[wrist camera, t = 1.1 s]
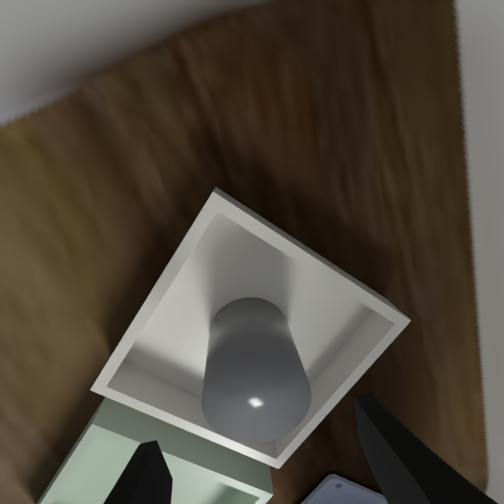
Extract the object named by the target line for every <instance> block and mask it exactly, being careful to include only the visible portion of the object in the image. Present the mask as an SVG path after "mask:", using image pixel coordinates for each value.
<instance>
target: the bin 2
mask: <svg viewBox="0 0 504 504" xmlns="http://www.w3.org/2000/svg"><path fill="white" fill-rule="evenodd" d="M154 440H157V442H158V444H159V447H160V449H161V452H162V454H163V456H164V459H165V461H166V464H167V466H168V468H169V471H170V473H171V476H172V478H173V485H172V497H171V504H265V503H266V502H267V501H268V500H269V499H270V498H271V497H272V496H273V488H272V481H271V473H270V466H269V465H268V464H265V463H263V462H261V461H258V460H256V459H253V458H251V457H249V456H246V455H244V454H242V453H239V452H237V451H234V450H232V449H230V448H227V447H225V446H222V445H220V444H218V443H215V442H213V441H210V440H208V439H206V438H203V437H201V436H198V435H196V434H194V433H191V432H189V431H186V430H184V429H182V428H179V427H177V426H175V425H172V424H170V423H167V422H165V421H163V420H160V419H158V418H155V417H153V416H151V415H148V414H146V413H143V412H141V411H139V410H136V409H134V408H131V407H129V406H127V405H124V404H122V403H119V402H117V401H115V400H112V399H110V398H108V397H104V399H103V401H102V402H101V404H100V405H99V407H98V408H97V410H96V411H95V413H94V415H93V416H92V418H91V419H90V421H89V422H88V424H87V426H86V427H85V429H84V430H83V432H82V433H81V435H80V437H79V438H78V440H77V441H76V443H75V444H74V446H73V447H72V449H71V451H70V452H69V454H68V455H67V457H66V458H65V460H64V462H63V463H62V465H61V466H60V468H59V469H58V471H57V473H56V474H55V476H54V477H53V479H52V480H51V482H50V483H49V485H48V487H47V488H46V490H45V491H44V493H43V494H42V496H41V498H40V499H39V501H38V502H37V504H103V503H104V501H105V500H106V498H107V497H108V495H109V493H110V492H111V490H112V489H113V487H114V485H115V484H116V482H117V480H118V479H119V477H120V475H121V474H122V472H123V470H124V469H125V467H126V465H127V464H128V462H129V460H130V459H131V457H132V455H133V454H134V452H135V450H136V449H137V447H138V446H139V444H141V443H145V442H150V441H154Z"/></svg>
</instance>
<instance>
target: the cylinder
mask: <svg viewBox="0 0 504 504" xmlns="http://www.w3.org/2000/svg"><path fill="white" fill-rule="evenodd" d="M311 396H312V395H311V388H310V384H309V381H308V378H307V375H306V373H305V370H304V367H303V364H302V362H301V359H300V356H299V353H298V351H297V348H296V345H295V342H294V340H293V337H292V334H291V331H290V329H289V326H288V323H287V320H286V318H285V316H284V314H283V313H282V311H281V310H280V309H279V308H278V307H277V306H276V305H274V304H273V303H271V302H269V301H267V300H264V299H260V298H254V297H247V298H241V299H237V300H234V301H232V302H230V303H228V304H226V305H225V306H224V307H222V308H221V309H220V310H219V311H218V312H217V314H216V315H215V316H214V318H213V320H212V322H211V326H210V332H209V340H208V349H207V357H206V366H205V375H204V383H203V392H202V401H201V404H202V411H203V414H204V417H205V419H206V421H207V422H208V424H209V425H210V426H211V427H212V428H213V429H214V430H215V431H216V432H217V433H219V434H220V435H222V436H224V437H226V438H228V439H231V440H233V441H237V442H243V443H261V442H267V441H271V440H274V439H277V438H279V437H282V436H284V435H286V434H287V433H289V432H290V431H292V430H293V429H294V428H295V427H297V426H298V425H299V424H300V423H301V421H302V420H303V419H304V417H305V416H306V414H307V412H308V410H309V407H310V404H311Z"/></svg>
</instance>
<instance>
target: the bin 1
mask: <svg viewBox="0 0 504 504" xmlns="http://www.w3.org/2000/svg"><path fill="white" fill-rule="evenodd" d="M247 297H254V298H260V299H264V300H267V301H269V302H271V303H273V304H274V305H276V306H277V307H278V308H279V309H280V310H281V311H282V313H283V314H284V316H285V318H286V320H287V323H288V326H289V329H290V331H291V334H292V337H293V340H294V342H295V345H296V348H297V351H298V353H299V356H300V359H301V362H302V364H303V367H304V370H305V373H306V375H307V378H308V381H309V384H310V388H311V395H312V396H311V404H310V407H309V410H308V412H307V414H306V416H305V417H304V419H303V420H302V421H301V423H300V424H299V425H298V426H297V427H295V428H294V429H293V430H292V431H290V432H289V433H287V434H286V435H284V436H282V437H279V438H277V439H274V440H271V441H267V442H261V443H243V442H237V441H233V440H231V439H228V438H226V437H224V436H222V435H220V434H219V433H217V432H216V431H215V430H214V429H213V428H212V427H211V426H210V425H209V424H208V422H207V421H206V419H205V417H204V414H203V411H202V404H201V401H202V392H203V383H204V375H205V366H206V357H207V349H208V340H209V332H210V326H211V322H212V320H213V318H214V316H215V315H216V314H217V312H218V311H219V310H220V309H221V308H222V307H224V306H225V305H226V304H228V303H230V302H232V301H234V300H237V299H241V298H247ZM410 321H411V320H410V319H409V318H408V317H406V316H405V315H404V314H403V313H402V312H401V311H400V310H398V309H397V308H396V307H395V306H394V305H393V304H392V303H390V302H389V301H388V300H387V299H386V298H385V297H383V296H381V295H380V294H378V293H377V292H375V291H374V290H372V289H371V288H369V287H368V286H366V285H365V284H363V283H362V282H360V281H359V280H357V279H356V278H354V277H353V276H351V275H350V274H348V273H346V272H345V271H343V270H342V269H340V268H339V267H337V266H336V265H334V264H333V263H331V262H330V261H328V260H327V259H325V258H324V257H322V256H321V255H319V254H318V253H316V252H315V251H313V250H312V249H310V248H308V247H307V246H305V245H304V244H302V243H301V242H299V241H298V240H296V239H295V238H293V237H292V236H290V235H289V234H287V233H286V232H284V231H283V230H281V229H280V228H278V227H277V226H275V225H274V224H272V223H270V222H269V221H267V220H266V219H264V218H263V217H261V216H260V215H258V214H257V213H255V212H254V211H252V210H251V209H249V208H248V207H246V206H245V205H243V204H242V203H240V202H239V201H237V200H236V199H234V198H232V197H231V196H229V195H228V194H226V193H225V192H223V191H222V190H220V189H219V188H217V187H215V189H214V190H213V192H212V193H211V195H210V197H209V198H208V200H207V202H206V203H205V205H204V206H203V208H202V210H201V211H200V213H199V214H198V216H197V218H196V219H195V221H194V223H193V224H192V226H191V227H190V229H189V231H188V232H187V234H186V236H185V237H184V239H183V240H182V242H181V244H180V245H179V247H178V248H177V250H176V252H175V253H174V255H173V257H172V258H171V260H170V261H169V263H168V265H167V266H166V268H165V269H164V271H163V273H162V274H161V276H160V278H159V279H158V281H157V282H156V284H155V286H154V287H153V289H152V290H151V292H150V294H149V295H148V297H147V299H146V300H145V302H144V303H143V305H142V307H141V308H140V310H139V311H138V313H137V315H136V316H135V318H134V320H133V321H132V323H131V324H130V326H129V328H128V329H127V331H126V332H125V334H124V336H123V337H122V339H121V341H120V342H119V344H118V345H117V347H116V349H115V350H114V352H113V354H112V355H111V357H110V358H109V360H108V362H107V363H106V365H105V367H104V368H103V370H102V371H101V373H100V375H99V376H98V378H97V380H96V381H95V383H94V385H93V386H92V388H91V389H90V390H91V391H93V392H96V393H98V394H100V395H103V396H105V397H108V398H110V399H112V400H115V401H117V402H119V403H122V404H124V405H127V406H129V407H131V408H134V409H136V410H139V411H141V412H143V413H146V414H148V415H151V416H153V417H155V418H158V419H160V420H163V421H165V422H167V423H170V424H172V425H175V426H177V427H179V428H182V429H184V430H186V431H189V432H191V433H194V434H196V435H198V436H201V437H203V438H206V439H208V440H210V441H213V442H215V443H218V444H220V445H222V446H225V447H227V448H230V449H232V450H234V451H237V452H239V453H242V454H244V455H246V456H249V457H251V458H253V459H256V460H258V461H261V462H263V463H265V464H268V465H270V466H273V467H275V468H277V469H279V468H280V467H281V466H282V465H283V464H284V463H285V461H286V460H287V459H288V458H289V457H290V456H291V455H292V454H293V453H294V451H295V450H296V449H297V448H298V447H299V446H300V445H301V444H302V442H303V441H304V440H305V439H306V438H307V437H308V436H309V435H310V433H311V432H312V431H313V430H314V429H315V428H316V427H317V426H318V424H319V423H320V422H321V421H322V420H323V419H324V418H325V417H326V416H327V414H328V413H329V412H330V411H331V410H332V409H333V408H334V407H335V405H336V404H337V403H338V402H339V401H340V400H341V399H342V398H343V396H344V395H345V394H346V393H347V392H348V391H349V390H350V389H351V387H352V386H353V385H354V384H355V383H356V382H357V381H358V380H359V379H360V377H361V376H362V375H363V374H364V373H365V372H366V371H367V370H368V368H369V367H370V366H371V365H372V364H373V363H374V362H375V361H376V359H377V358H378V357H379V356H380V355H381V354H382V353H383V352H384V350H385V349H386V348H387V347H388V346H389V345H390V344H391V343H392V342H393V340H394V339H395V338H396V337H397V336H398V335H399V334H400V333H401V331H402V330H403V329H404V328H405V327H406V326H407V325H408V324H409V322H410Z"/></svg>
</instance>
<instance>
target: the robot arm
mask: <svg viewBox="0 0 504 504" xmlns="http://www.w3.org/2000/svg"><path fill="white" fill-rule="evenodd" d="M354 402H355V412H356V421H357V431H358V439H359V441H360V444H361V446H362V449H363V451H364V454H365V456H366V459H367V461H368V464H369V466H370V468H371V471H372V473H373V475H374V477H375V479H376V481H377V483H378V485H379V487H380V489H381V491H382V493H383V495H381V494H379V493H377V492H374V491H372V490H370V489H368V488H365V487H363V486H361V485H358V484H356V483H354V482H352V481H349V480H347V479H345V478H342V477H340V476H338V475H336V474H330V475H328V476H327V477H326V478H325V479H324V480H323V481H322V482H321V483H320V484H319V485H318V486H317V487H316V488H315V489H314V490H313V492H312V493H311V494H310V495H309V496H308V497H307V498H306V499H305V500H304V501H303V502H302V503H301V504H498V503H496V502H495V501H494V500H492V499H491V498H490V497H488V496H487V495H486V494H484V493H483V492H482V491H481V490H479V489H478V488H477V487H475V486H474V485H473V484H472V483H470V482H469V481H468V480H467V479H465V478H464V477H463V476H462V475H460V474H459V473H458V472H457V471H456V470H454V469H453V468H452V467H451V466H449V465H448V464H447V463H446V462H445V461H443V460H442V459H441V458H440V457H439V456H438V455H437V454H435V453H434V452H433V451H432V450H431V449H430V448H429V447H427V446H426V445H425V444H424V443H423V442H422V441H421V440H420V439H418V438H417V437H416V436H415V435H414V434H413V433H412V432H411V431H410V430H409V429H408V428H406V427H405V426H404V425H403V424H402V423H401V422H400V421H399V420H398V419H397V418H396V417H395V416H394V415H393V414H392V413H391V412H390V411H389V410H388V409H387V408H386V407H385V406H384V405H383V404H382V403H381V402H380V401H379V400H378V399H377V398H376V397H375V396H374V395H373V394H371V393H368V394H363V395H358V396H354ZM172 485H173V478H172V476H171V473H170V471H169V468H168V466H167V464H166V461H165V459H164V456H163V454H162V452H161V449H160V447H159V444H158V442H157V440H154V441H150V442H145V443H141V444H139V446H138V447H137V449H136V450H135V452H134V454H133V455H132V457H131V459H130V460H129V462H128V464H127V465H126V467H125V469H124V470H123V472H122V474H121V475H120V477H119V479H118V480H117V482H116V484H115V485H114V487H113V489H112V490H111V492H110V493H109V495H108V497H107V498H106V500H105V501H104V503H103V504H171V497H172Z"/></svg>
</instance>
